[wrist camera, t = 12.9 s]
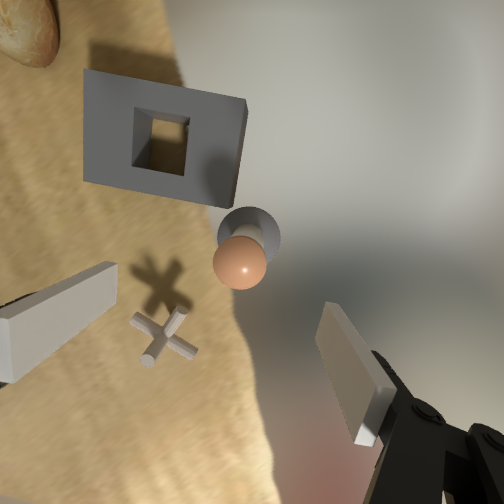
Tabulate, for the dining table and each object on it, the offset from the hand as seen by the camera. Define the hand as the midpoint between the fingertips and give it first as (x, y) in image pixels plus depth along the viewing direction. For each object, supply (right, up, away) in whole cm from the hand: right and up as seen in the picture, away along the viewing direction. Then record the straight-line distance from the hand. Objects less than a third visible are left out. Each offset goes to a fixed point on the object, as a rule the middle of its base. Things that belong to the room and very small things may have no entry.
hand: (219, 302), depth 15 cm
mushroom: (+2, +5, +19) cm, 20 cm away
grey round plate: (+2, +5, +19) cm, 20 cm away
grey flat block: (-8, +17, +17) cm, 25 cm away
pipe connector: (-10, -7, +24) cm, 27 cm away
